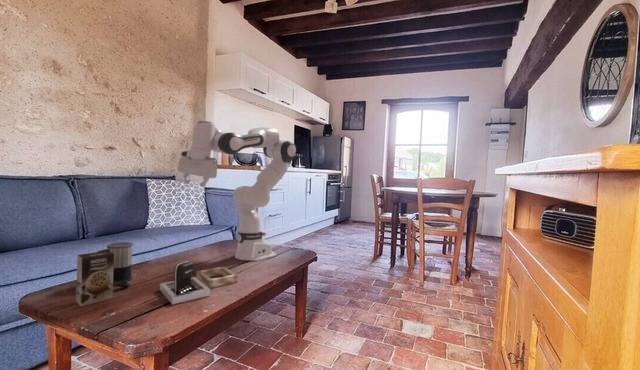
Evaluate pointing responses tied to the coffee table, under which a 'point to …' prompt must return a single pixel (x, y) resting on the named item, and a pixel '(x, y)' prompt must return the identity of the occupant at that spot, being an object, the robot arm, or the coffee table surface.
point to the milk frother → (121, 262)
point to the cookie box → (94, 277)
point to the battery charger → (183, 277)
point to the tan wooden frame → (210, 283)
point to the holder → (175, 299)
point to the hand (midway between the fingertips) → (194, 185)
